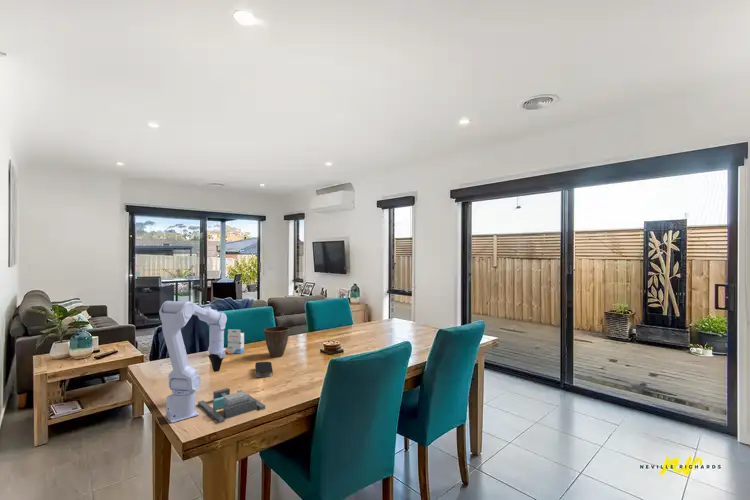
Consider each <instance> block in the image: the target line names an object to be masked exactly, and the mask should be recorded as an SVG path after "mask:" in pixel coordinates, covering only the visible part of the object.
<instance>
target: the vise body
mask: <svg viewBox="0 0 750 500" xmlns="http://www.w3.org/2000/svg"><path fill="white" fill-rule="evenodd" d="M241 391H243V390H242V389H240V390H237V391H236V393H237V392H241ZM197 405H198V406H199V407H200V408H201V409H202V410H203V411H204V412H206V413H207V414H208V415H209V416H210V417H211V418H212V419H214V420H215V422H217V423H218V424H221V423H224V422H225V420H227V419H230V418H233V417H237V416H240V415H243V414H247V413H249V412H253V411H255V410H257V409H259V410H260V411H262V410H265V409H266V405H265V404H264V403H262V402H261V401H260V400H257V398H255V397H253V396H251V395H250V394H249V401H246V402H242V403H239V404H235V405H232V406H229V407H225V408H224V411H223V410H222V411H223V412H222V413H223V415H221V413H219V412H218V411H217V410H215V409H214V408H213V406H211V405H210V404H208V403H207V402H206V401H205V400H204V399H203V400H199V401H198V402H197Z"/></svg>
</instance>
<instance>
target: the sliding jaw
mask: <svg viewBox="0 0 750 500" xmlns="http://www.w3.org/2000/svg"><path fill="white" fill-rule="evenodd" d="M230 389H231V388H228V387H225V388H221V389H218V390H215V391H213V397H212V401H213V402H212V408H213V409H214V410H215V411H217V410H219V409H222V408H223V396H226V395H230V394H231V393H230V392H231V391H230Z"/></svg>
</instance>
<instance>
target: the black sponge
mask: <svg viewBox="0 0 750 500" xmlns="http://www.w3.org/2000/svg"><path fill="white" fill-rule="evenodd" d="M254 367H255V369H254V370H255V376H256V378H257V377H258V378H262V377H264V378H265V377H266V378H268V377H270V378H271V377H273V376H274V370H273V366H272V362H271V361H257V362H255V366H254Z"/></svg>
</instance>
